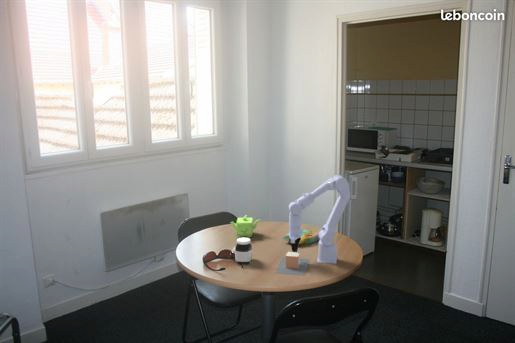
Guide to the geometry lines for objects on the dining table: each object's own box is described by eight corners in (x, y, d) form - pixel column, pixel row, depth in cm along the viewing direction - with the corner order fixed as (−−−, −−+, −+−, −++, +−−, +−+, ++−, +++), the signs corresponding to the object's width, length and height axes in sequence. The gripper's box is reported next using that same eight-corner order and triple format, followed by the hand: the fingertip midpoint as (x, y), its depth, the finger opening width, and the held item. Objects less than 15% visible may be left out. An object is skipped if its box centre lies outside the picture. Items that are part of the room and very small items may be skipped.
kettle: (246, 230, 272) (245, 212, 270) (262, 235, 262) (262, 217, 260) (227, 235, 262) (227, 217, 260) (244, 241, 252) (243, 222, 250)
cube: (299, 252, 217) (298, 257, 211) (299, 264, 218) (298, 268, 212) (287, 251, 218) (285, 256, 212) (287, 263, 219) (285, 267, 213)
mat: (309, 260, 224) (309, 259, 224) (304, 276, 204) (304, 275, 204) (282, 258, 227) (282, 257, 227) (275, 274, 208) (275, 273, 207)
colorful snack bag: (321, 232, 252) (297, 240, 239) (321, 240, 253) (297, 248, 240) (306, 227, 261) (282, 235, 248) (306, 235, 262) (282, 243, 249)
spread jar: (248, 266, 217) (247, 243, 215) (226, 264, 220) (226, 241, 218) (255, 257, 229) (254, 235, 226) (234, 255, 232) (233, 234, 229)
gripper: (289, 221, 226) (289, 246, 229) (284, 230, 212) (284, 256, 215) (302, 222, 225) (302, 247, 227) (299, 231, 211) (298, 257, 213)
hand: (294, 252), depth 221 cm, fingers closed
